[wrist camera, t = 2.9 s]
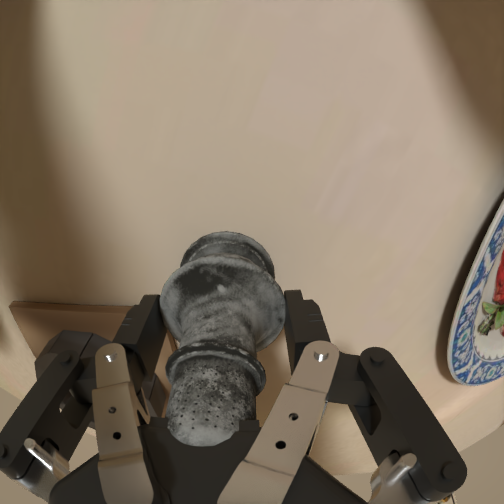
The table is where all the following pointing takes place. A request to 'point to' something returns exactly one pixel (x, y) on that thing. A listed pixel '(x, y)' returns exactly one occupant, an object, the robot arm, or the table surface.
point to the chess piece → (219, 335)
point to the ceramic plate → (481, 314)
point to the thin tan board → (85, 341)
